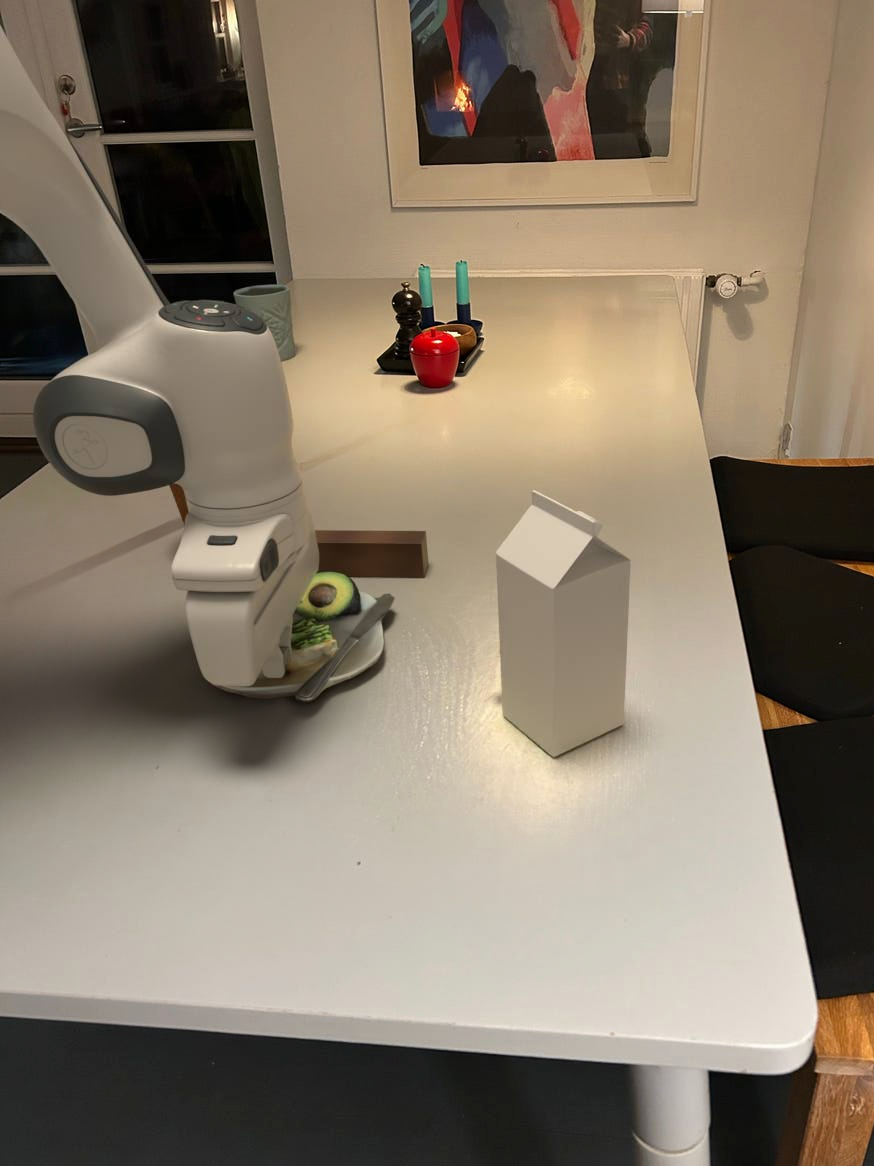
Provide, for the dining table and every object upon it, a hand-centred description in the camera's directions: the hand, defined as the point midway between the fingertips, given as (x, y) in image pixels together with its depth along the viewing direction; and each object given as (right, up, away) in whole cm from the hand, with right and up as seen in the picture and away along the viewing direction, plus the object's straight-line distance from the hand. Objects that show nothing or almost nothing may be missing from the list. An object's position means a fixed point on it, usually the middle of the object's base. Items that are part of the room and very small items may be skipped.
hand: (279, 669), depth 81 cm
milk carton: (+24, -4, -4) cm, 24 cm away
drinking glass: (-22, +55, +97) cm, 114 cm away
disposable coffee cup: (-12, +13, +27) cm, 32 cm away
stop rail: (+3, +10, +21) cm, 23 cm away
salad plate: (0, +2, +8) cm, 8 cm away
